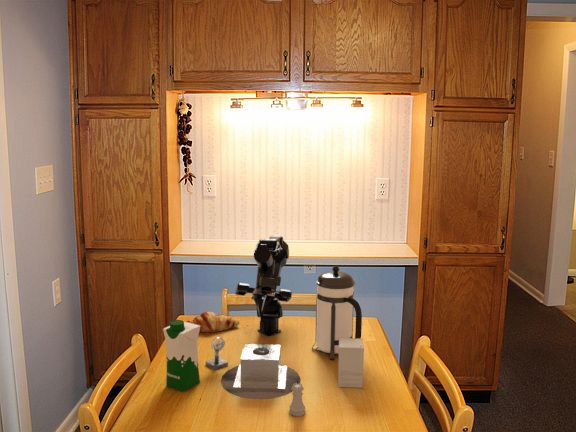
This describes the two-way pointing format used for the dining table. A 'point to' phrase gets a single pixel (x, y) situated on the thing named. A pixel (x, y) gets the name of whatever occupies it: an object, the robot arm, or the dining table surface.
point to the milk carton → (182, 355)
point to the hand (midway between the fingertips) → (260, 317)
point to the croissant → (213, 322)
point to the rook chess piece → (297, 401)
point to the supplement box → (350, 362)
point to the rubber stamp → (217, 354)
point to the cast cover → (260, 369)
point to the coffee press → (335, 311)
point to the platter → (229, 381)
